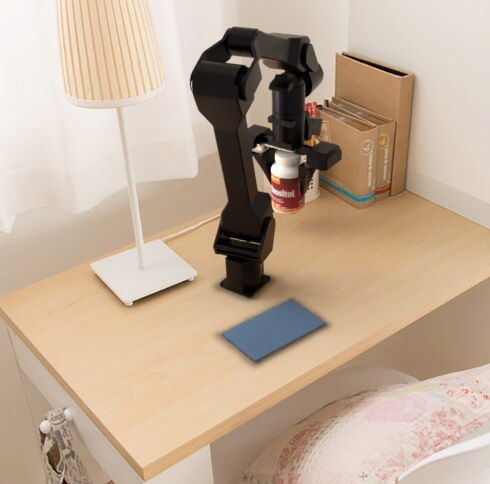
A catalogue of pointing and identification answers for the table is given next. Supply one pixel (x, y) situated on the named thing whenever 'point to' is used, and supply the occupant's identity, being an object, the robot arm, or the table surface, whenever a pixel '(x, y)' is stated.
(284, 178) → the pill bottle
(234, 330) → the napkin
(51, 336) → the table surface
